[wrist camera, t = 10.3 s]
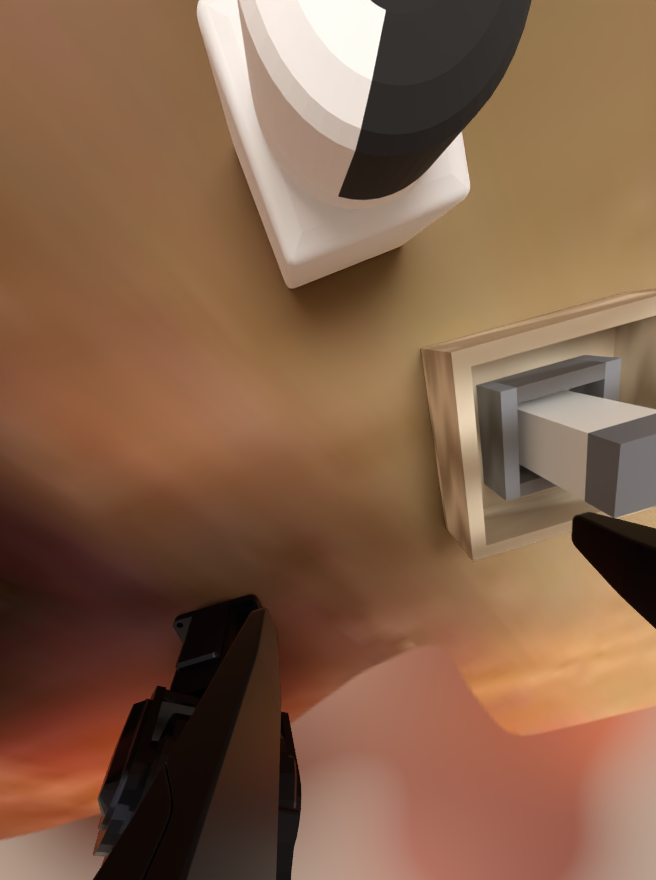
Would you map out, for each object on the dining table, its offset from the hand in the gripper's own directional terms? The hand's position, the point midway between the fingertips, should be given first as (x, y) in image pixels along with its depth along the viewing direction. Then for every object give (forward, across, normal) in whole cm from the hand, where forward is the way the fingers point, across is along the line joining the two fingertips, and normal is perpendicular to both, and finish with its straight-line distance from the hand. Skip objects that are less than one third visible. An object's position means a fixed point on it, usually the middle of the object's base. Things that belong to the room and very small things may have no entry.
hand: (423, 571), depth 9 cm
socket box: (+13, -13, +3) cm, 19 cm away
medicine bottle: (+13, -2, -13) cm, 19 cm away
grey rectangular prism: (+13, -13, +3) cm, 18 cm away
